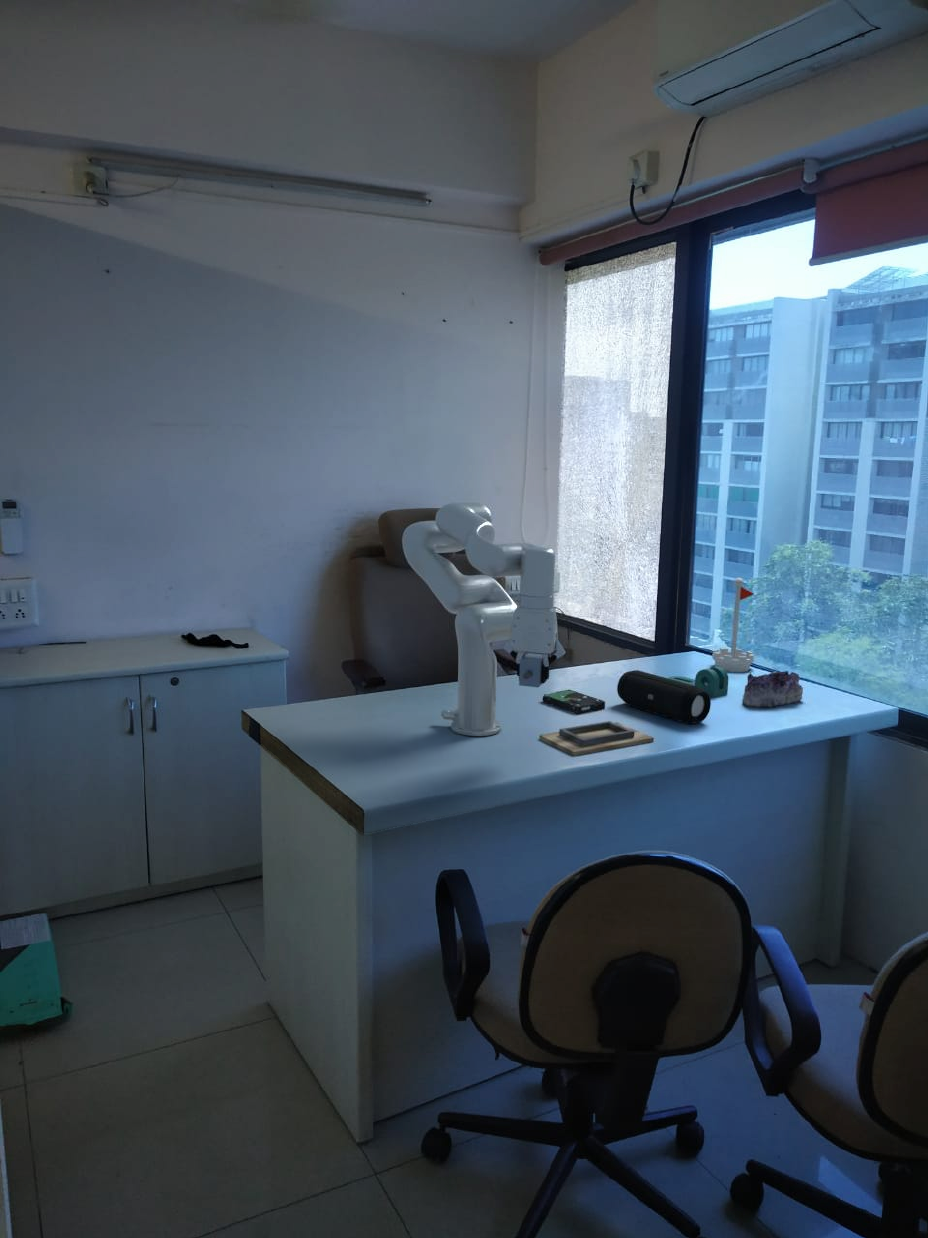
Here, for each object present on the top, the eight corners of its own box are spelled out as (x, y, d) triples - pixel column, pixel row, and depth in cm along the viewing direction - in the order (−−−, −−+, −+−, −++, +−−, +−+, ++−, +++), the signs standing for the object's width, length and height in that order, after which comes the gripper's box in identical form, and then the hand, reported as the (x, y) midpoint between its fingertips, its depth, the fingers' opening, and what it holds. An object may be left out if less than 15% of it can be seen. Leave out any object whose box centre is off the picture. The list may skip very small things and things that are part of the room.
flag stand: (713, 671, 296) (720, 579, 290) (709, 662, 308) (716, 574, 303) (755, 674, 294) (763, 581, 288) (749, 664, 306) (757, 575, 301)
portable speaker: (613, 705, 254) (615, 670, 252) (638, 700, 260) (640, 666, 258) (687, 729, 234) (689, 691, 232) (711, 722, 240) (714, 685, 238)
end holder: (539, 738, 223) (539, 729, 223) (616, 726, 235) (617, 716, 234) (573, 756, 211) (574, 745, 211) (653, 741, 223) (654, 731, 223)
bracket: (727, 695, 268) (729, 668, 267) (713, 698, 264) (715, 672, 263) (676, 682, 282) (678, 657, 280) (663, 685, 277) (664, 660, 276)
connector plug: (516, 687, 205) (517, 661, 204) (528, 676, 215) (529, 652, 214) (535, 690, 204) (536, 664, 203) (547, 679, 214) (548, 654, 213)
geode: (768, 713, 250) (766, 677, 249) (733, 709, 259) (731, 674, 258) (811, 699, 262) (809, 665, 261) (776, 696, 271) (774, 662, 270)
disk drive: (605, 711, 250) (568, 698, 262) (606, 701, 250) (569, 688, 262) (577, 717, 244) (541, 703, 256) (578, 706, 244) (541, 693, 255)
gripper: (495, 601, 206) (492, 680, 209) (569, 608, 200) (565, 689, 204) (505, 596, 213) (502, 673, 216) (576, 602, 207) (572, 681, 211)
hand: (532, 680), depth 210 cm, fingers closed on connector plug, 4 cm apart
